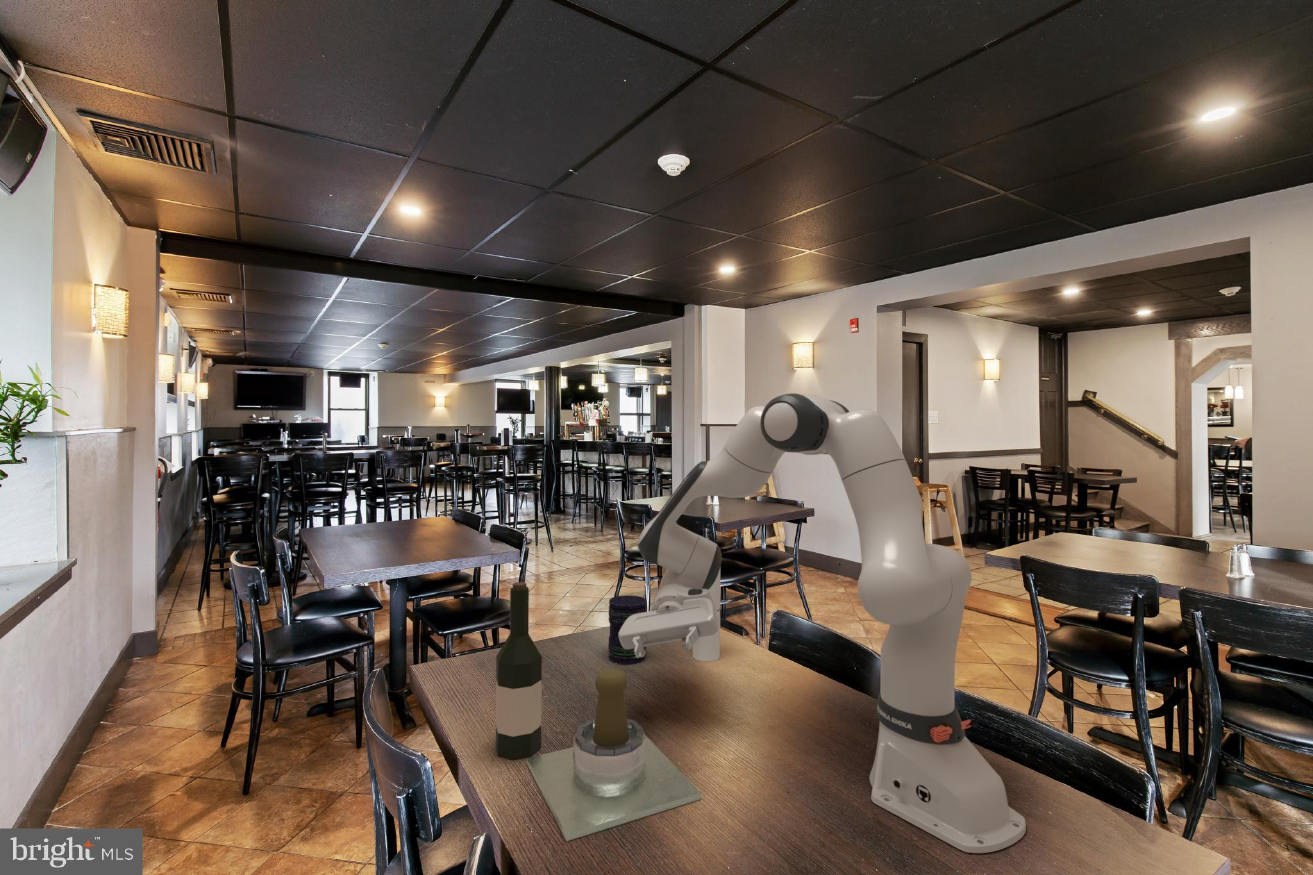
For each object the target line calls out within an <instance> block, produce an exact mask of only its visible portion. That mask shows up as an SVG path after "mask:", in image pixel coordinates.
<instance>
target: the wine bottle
mask: <svg viewBox="0 0 1313 875" xmlns="http://www.w3.org/2000/svg"><path fill="white" fill-rule="evenodd" d="M509 590H510V592H509V599H510V600H509V634H508V636H507V637H506V639H505V641H504V643H503V644H502V647H501V648H500V649H499V652H497V654H496V657H495V661H496V662H495V663H496V664H495V668H496V671H495V673H496V674H495V676H496V677H495V681H496V682H495V750H496V753H497V757H499V758H502V759H506V760H510V761H515V760H522V759H527V758H530V757H533V756H535V754H536V753H537V752H538V751H539V750H541V749H542V695H543V694H542V685H543V684H542V683H543V682H542V681H543V680H542V675H543V674H542V673H543V671H542V670H543V669H542V668H543V666H542V664H543V661H542V659H543V657H542V654H541V653H540V651H539V650H538V647H537V646H536V644H535V642H534V641H533V639H532V637H531V636H530V634H529V631H530V630H529V624H530V622H529V620H530V619H529V612H530V611H529V610H530V609H529V608H530V607H529V606H530V605H529V604H530V599H529V598H530V595H529V594H530V592H529V591H530V589H529V587H528V586H527V583H526V582H522V581H521V582H520V581H519V582H518V581H517V582H514V583H512V587H510V589H509Z"/></svg>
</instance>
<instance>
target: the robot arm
mask: <svg viewBox="0 0 1313 875" xmlns="http://www.w3.org/2000/svg"><path fill="white" fill-rule="evenodd" d="M785 453H797V454H802V455H806V456H808V455H809V456H815V455H816V456H818V455H829V456H830V457H831V459H832V461H834V463H835V466H836V469H837V472H838V474H839V476H840V479H841V482H842V484H843V488H844V491H845V493H846V496H847V498H848V501H849V504H850V507H851V510H852V513H853V515H854V518H855V519H854V520H855V522H856V526H857V530H858V536H859V545H860V555H861V570H860V574H859V577H858V581H857V596H858V598H859V602H860V603H861V605H862V607H863V610H865V611H866V612H867V614H868V615H869V616H870V617H871V618H873V619H874V620H876V621H878V622H880V623H883V624H886V625H889V627H888V630H887V632H886V636H885V638H884V639H883V642H882V644H881V648H880V691H879V693H878V694H877V704H876V710H877V719H878V721H879V724H878V725H879V727H878V728H879V729H878V738H877V744H876V750H875V756H874V761H873V764H872V768H871V770H870V774H869V778H868V779H869V782H870V785H871V788H872V790H871V796H870V799H871V802H873V804H876V805H877V806H879V807H880V808H882V809H884V810H886V811H888V812H890V813H891V814H894V815H896V816H898V817H899V818H901V819H903V820H905V821H907V822H908V823H910V824H912V825H913V826H915V827H917V828H920V829H921V830H923V831H925V832H926V833H928V834H930V835H932V836H934V837H936V838H938V839H940V840H942V841H943V842H945V843H947V844H949V845H951V846H952V847H954V848H956V849H958V850H961V851H962V852H964V853H969V854H970V853H972V854H984V853H985V854H986V853H993V852H996V851H1000V850H1003V849H1005V848H1008V847H1010V846H1012V845H1014V844H1015V843H1017V842H1019V841H1020V840H1021V839H1022V838H1023V837H1024V835H1025V834H1026V830H1027V824H1026V819H1025V817H1024V816H1023V815H1022V814H1020V813H1019V812H1017V811H1016V810H1015V809H1013V808H1012V807H1010V806H1009V804H1008V803H1009V802H1008V797H1007V790H1006V788H1005V784H1004V782H1003V779H1002V778H1001V776H1000V775H999V774H998V773H997V772H996V770H995V769H994V768H993V767H992V766H991V765H990V763H989V762H988V761H987V760H986V758H984V757H983V755H982V754H981V753H980V752H979V750H977V748H976V747H975V746H974V744H973V743H971V741H970V740H969V739H968V738H967V737H966V731H965V729H969V728H971V727H972V725H970V723H971V722H972V720H971V719H966V720H963V721H962V719H961V715H960V713H959V710H958V707H957V706H956V704H955V689H956V688H955V684H956V681H955V677H956V673H955V672H956V655H957V648H958V644H959V643H958V642H959V638H960V633H961V628H962V624H963V622H962V621H963V617H964V611H965V604H966V600H967V599H966V598H967V595H968V592H969V589H970V587H971V584H972V577H973V576H972V569H971V567H970V564H969V563H968V561H967V559H966V558H965V557H964V556H963V555H962V554H961V553H960V552H959V551H957V550H955V549H953V548H952V547H949V546H946V545H942V544H941V545H940V544H934V543H927V542H926V538H925V534H924V526H923V512H924V502H923V499H922V497H921V494H920V492H919V489H918V487H917V484H916V482H915V480H914V477H913V475H912V472H911V470H910V468H909V465H908V462H907V460H906V458H905V456H904V454H903V451H902V449H901V447H900V445H899V442H898V441H897V439H896V437H895V436H894V434H893V432H892V431H891V429H890V427H889V425H888V424H887V423H886V421H885V419H884V418H883V417H882V416H881V415H880V414H879V413H878V412H876V411H874V410H872V409H871V410H870V409H866V408H865V409H863V408H861V409H854V410H851V411H850V410H849V409H848V408H847V407H846V406H844V405H843V404H842V403H840V402H838V401H837V400H836V401H835V400H831V399H826V398H822V397H821V396H817V395H813V394H799V393H795V392H794V393H786V394H785V393H784V394H781V395H778V396H776V397H774V398H772V399H771V400H770V401H769V402H768V403H767V404H766V405H757V406H753V407H751V408H750V409H748V410H747V411H746V412H745V413H744V415H743V416H742V417H741V419H740V420H739V421H738V423H737V424H736V426H735V427H734V429H733V430H732V432H731V433H730V434H729V437H728V439H727V440H726V442H725V444H724V446H723V448H722V449H721V451H720V452H719V453H718V454H717V455H716V456H715V457H713V458H712V459H709V460H705V461H699V463H697V464H696V465H695V466H694V467H693V468H692V469H691V470H690V471H689V472H688V473H687V475H686V476H685V478H684V479H682V481H681V482H680V484H679V485H678V486H677V488H676V489H675V491H674V492H673V493H672V495H671V496H669V498H668V499H667V501H666V502H665V504H664V505H663V506H662V508H660V510H659V511H658V513H657V514H656V515H655V516H654V517H653V518H652V519H651V520H650V521H649V522H648V523H647V524H646V525H645V526H644V528H643V530H642V531H641V533H640V535H639V538H638V543H637V548H638V549H639V550H638V551H639V553H640V555H641V557H642V560H644V561H646V562H648V563H651V564H653V565H656V566H660V567H662V568H664V569H665V572H664V573H663V575H662V578H661V580H660V582H659V586H658V590H657V592H656V595H655V597H654V599H653V600H654V601H653V603H652V605H651V610H649V611H647V612H643V613H638V614H634V615H631V616H630V617H628V618H627V620H626V621H625V622H624V624H623V626H622V627H621V629H620V631H619V633H618V636H619V640H620V643H621V645H622V647H623V648H624V649H633V648H635V650H634V653H635V655H636V658H640V657H644V655H646V653H645V649H644V647H645V646H646V647H650V646H657V645H661V644H662V645H663V644H667V643H672V642H673V643H674V642H678V641H679V642H680V641H681V642H680V644H681V645H680V646H681V647H682V650H683V651H687V650H692V648H693V643H694V642H696V641H697V640H698V639H699V637H704V636H710V635H714V634H715V633H716V632H718V629H719V622H718V618H717V615H716V611H715V607H714V603H713V600H712V598H711V595H710V593H709V591H708V589H710V588H711V586H712V585H713V584H714V582H715V580H716V578H717V576H718V573H719V570H720V571H721V565H722V562H723V557H722V556H723V555H722V552H721V548H720V547H719V544H718V543H716V542H713V541H712V540H711V539H708V538H706V537H705V536H704V537H703V536H702V535H699V534H697V533H695V532H693V531H691V530H689V529H687V528H685V527H683V526H680V525H679V524H677V521H678V520H679V518H680V517H681V515H682V514H683V513H684V512H685V511H686V509H687V508H688V507H689V505H690V504H691V502H693V501H694V500H695V499H697V498H700V497H722V498H729V499H742V498H748V497H750V496H751V497H752V496H754V495H755V494H757V493H759V492H760V491H761V490H762V489H763V488H764V486H765V485H766V483H767V482H768V480H769V479H770V477H771V476H772V474H773V472H774V470H775V468H776V467H777V464H778V462H779V460H781V457H782V456H783V455H784V454H785Z"/></svg>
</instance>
